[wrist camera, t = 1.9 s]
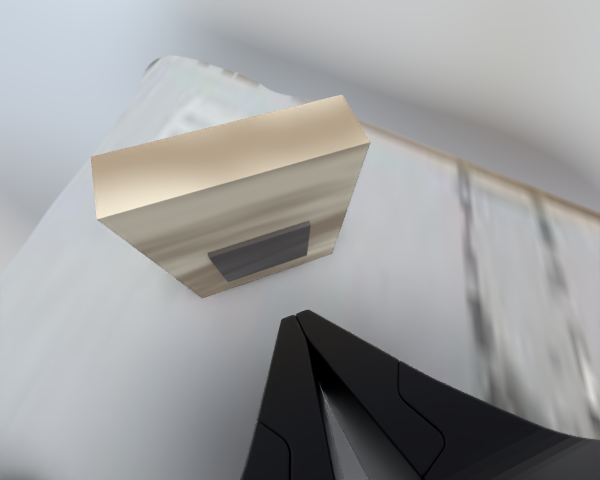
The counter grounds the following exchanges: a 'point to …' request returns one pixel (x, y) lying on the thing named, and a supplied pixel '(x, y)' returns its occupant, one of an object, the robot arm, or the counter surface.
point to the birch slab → (236, 194)
